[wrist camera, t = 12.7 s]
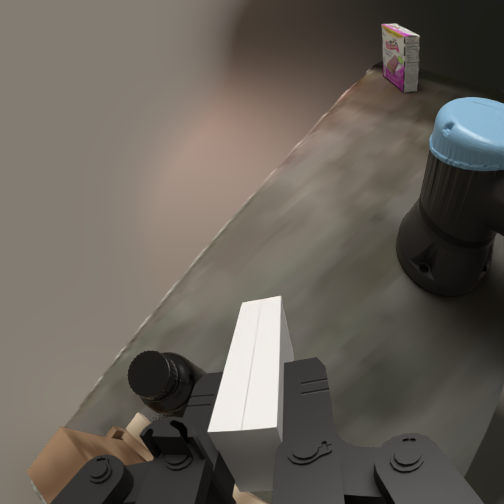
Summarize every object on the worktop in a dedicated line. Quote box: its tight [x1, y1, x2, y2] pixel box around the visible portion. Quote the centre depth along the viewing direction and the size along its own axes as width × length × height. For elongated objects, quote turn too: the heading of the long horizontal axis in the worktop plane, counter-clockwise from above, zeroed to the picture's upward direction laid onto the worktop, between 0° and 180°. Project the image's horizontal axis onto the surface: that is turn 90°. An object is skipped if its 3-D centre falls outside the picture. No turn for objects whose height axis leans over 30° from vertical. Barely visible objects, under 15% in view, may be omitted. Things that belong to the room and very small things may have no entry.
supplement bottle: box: [128, 351, 207, 418], centre depth 32 cm, size 7×7×12 cm
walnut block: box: [27, 427, 147, 504], centre depth 25 cm, size 8×8×13 cm
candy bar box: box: [382, 24, 420, 93], centre depth 63 cm, size 11×5×16 cm, turn 11°
